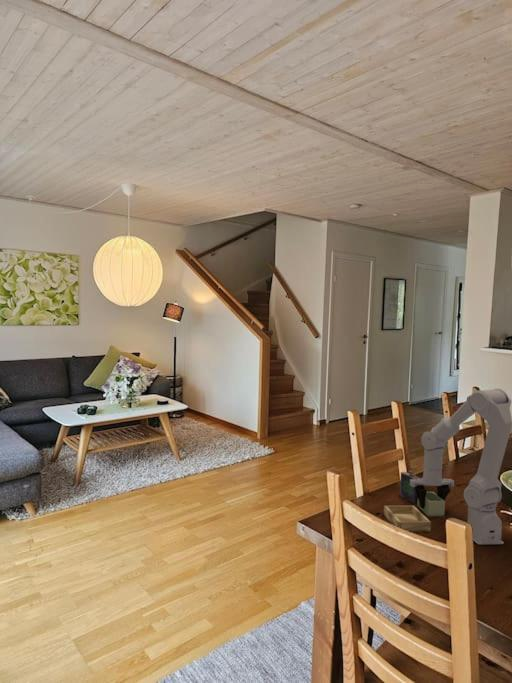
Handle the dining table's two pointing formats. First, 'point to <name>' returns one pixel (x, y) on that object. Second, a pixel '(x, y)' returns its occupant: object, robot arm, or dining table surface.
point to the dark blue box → (408, 487)
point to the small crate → (433, 505)
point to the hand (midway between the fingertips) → (430, 507)
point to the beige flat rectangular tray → (407, 518)
